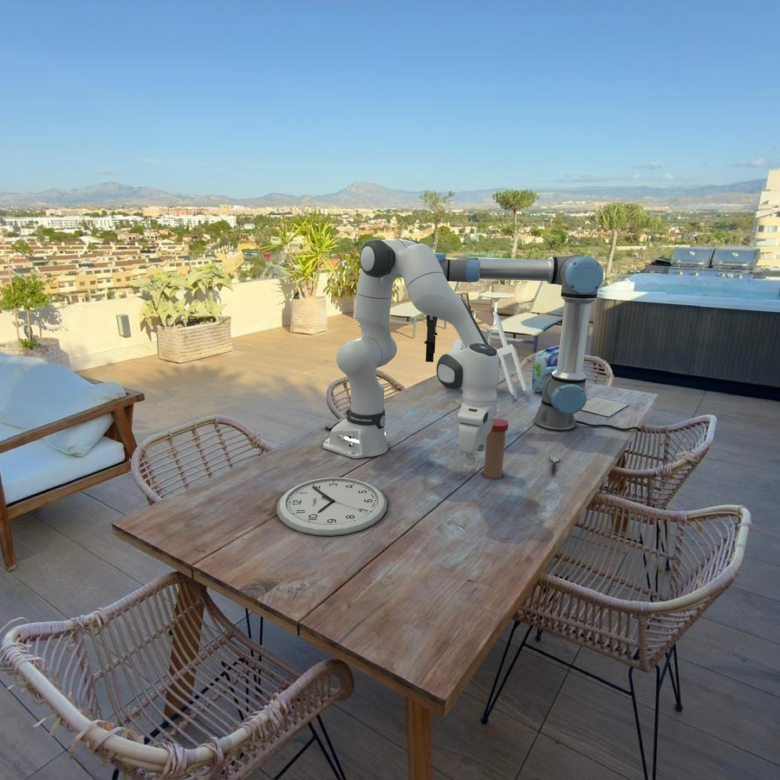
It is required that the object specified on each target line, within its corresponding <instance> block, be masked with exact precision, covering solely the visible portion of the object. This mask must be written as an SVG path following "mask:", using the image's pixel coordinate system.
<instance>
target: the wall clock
mask: <svg viewBox="0 0 780 780" xmlns="http://www.w3.org/2000/svg"><path fill="white" fill-rule="evenodd" d="M387 509H388V500H387V498H386V496H385V494H384V493H383V492H382V491H381V490H380V489H379V488H377V487H376V486H374V485H372V484H371V483H369V482H365V481H362V480H359V479H355V478H349V477H338V476H337V477H335V476H333V477H332V476H331V477H322V478H317V479H312V480H307V481H305V482H302V483H299V484H297V485H295V486H293V487H292V488H290V489H288V490H287V491H286V492H285V493H284V494H283V495H281V496H280V498H279V499H278V502H277V503H276V515H277V517H278V518H279V520H280V521H281V522H282V523H283V524H285V525H286V526H287V527H288V528H290V529H293V530H295V531H297V532H299V533H303V534H308V535H312V536H327V537H328V536H329V537H331V536H332V537H333V536H342V535H350V534H352V533H356V532H361V531H363V530H366V529H368V528H369V527H372V526H373V525H375V524H376V523H378V522H379V521H380V520H381V519H382V518H383V517H384V516H385V514H386V512H387Z"/></svg>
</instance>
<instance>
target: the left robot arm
mask: <svg viewBox="0 0 780 780" xmlns="http://www.w3.org/2000/svg"><path fill="white" fill-rule="evenodd" d="M434 253H435V252H434V251H433V250H432V248H431V247H430V246H429V245H426V244H425V243H422V242H420V241H417V240H407V239H399V238H393V239H378V238H377V239H371V240H369V241H366V242H365V243H364V244H363V246H362V247H361V249H360V252H359V265H360V267H361V268H360V273H359V275H358V280H357V285H356V294H355V304H354V319H355V321H356V322H357V323H359V326H360V337H359V338H356V339H355V338H354V339H352V340H349V341H347V342H345V343H344V344H343V345H342V346H341V347H339V348H338V350H337V352H336V355H335V361H336V365H337V367H338V369H339V370H340V371H341V372H342V373H343V374H344V375H345V376H346V379H347V381H348V384H349V389H350V390H349V391H350V407H349V408H347V409H346V410H345V411H344V412H343V416H346V417H345V418H344V419H343V420H340V421H338V420H337V421H336V423H334V424H333V425H332V426H331V427H328V426H326V425H325V427H324V428H325V430H327V431H330V433H329V437H328V438H326V439H325V440H324V442H323V444H322V448H323V449H325V450H328V451H331V452H334V453H336V454H340V455H342V456H345V457H349V458H352V459H357V460H358V459H362V458H367V457H369V458H370V457H377V456H380V455H383V454H385V453H386V452H387V451H388V450H389V446H388V442H387V438H386V435H387V434H386V432H385V426H386V409H385V388H384V385H383V384H382V383H380V382H379V380H378V377H377V369H378V368H381V367H384V366H385V365H387V364H388V363H390V362H391V361H392V360H393V359H394V358H395V357H396V355H397V352H398V347H397V346H398V345H397V342H396V341H395V339H394V337H392V334H391V333H392V332H391V327H390V315H391V305H392V297H393V296H392V295H393V286H394V282H395V281H396V280H397V279H401V278H402V280H403V282H404V285H405V288H406V292H407V294H408V297H409V300H410V301H411V303H412V305H413V306H414V308H415V309H416V310H417V311H419V312H420V313H421V314H424V315H430V316H434V317H437V318H438V319H441V320H443V321H445V322H447V323H449V324H450V325H451V326H452V327H454V329H455V330H456V332H457V334H458V336H459V338H460V339H461V340H462V342H463V343H464V345H465V347H466V348H465V349H463V350H460V351H455V352H452V351H450V352H446V353H444V354H442V355H441V356H440V357H439V358H438V361H437V363H436V367H435V368H436V371H435V372H436V376H437V379H438V381H439V383H440V384H441V385H442V386H444V387H445V388H447V389H453V390H458V389H459V390H461V391H462V394H461V396H462V397H461V404H460V409H459V411H458V413H457V416H456V420H457V423H459V425H458V450H459V453H461V454H465V458H466V464H467V465H468V466H473V465H474V464H475V462H476V456H475V453H476V451H477V452H481V453H482V452H484V450H485V449H486V438H487V435H488V434H489V433H490V431H491V430H492V427H493V419H494V418H495V417H496V416H497V409H498V392H497V387H498V384H499V381H500V368H501V365H500V362H499V356H498V352H497V350H498V349H496V348H495V347H493V346H492V345H490V344H489V342H488V341H487V340H486V338H485V336H484V334H483V332H482V330H481V328H480V326H479V324H478V322H477V321H476V319H475V317H474V315H473V313H472V311H471V309H470V308H469V306H468V305H467V303H466V302H465V300H463V298H462V297H460V296H459V295H458V294H457V293H456V292H455V291H454V289H453V288H452V286H451V284H450V282H447V280H446V278H445V275H444V273H443V270H442V268H441V266H440V264H439V262H438V260H437V258H436V256H435V254H434Z"/></svg>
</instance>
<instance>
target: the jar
mask: <svg viewBox="0 0 780 780" xmlns="http://www.w3.org/2000/svg"><path fill="white" fill-rule="evenodd" d="M506 435H507V431H504V432H494V431H490V433H489V434H488V435H487V438H486V442H485V451H484V462H483V463H484V464H483V476H484V477H486V478H488V479H493V480H496V479H500V478H502V476H503V468H504V456H505V447H506V446H505V443H506V437H507V436H506Z"/></svg>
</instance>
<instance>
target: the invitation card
mask: <svg viewBox="0 0 780 780" xmlns="http://www.w3.org/2000/svg"><path fill="white" fill-rule="evenodd" d="M628 406H629V404H627V403H623V402H618V401H614V400H609V399H605V398H601V397H596V396H593V397H592V398H590V399H587V401H586V404H585V406H584V407H583V408H582V409H581V410H580V411H584V412H587V413H593V414H596V415H600V416H604V417H608V418H609V417H611V416H613V415H614V414H616V413H617V412H619V411H621V410H623V409H624V408H626V407H628Z"/></svg>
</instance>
